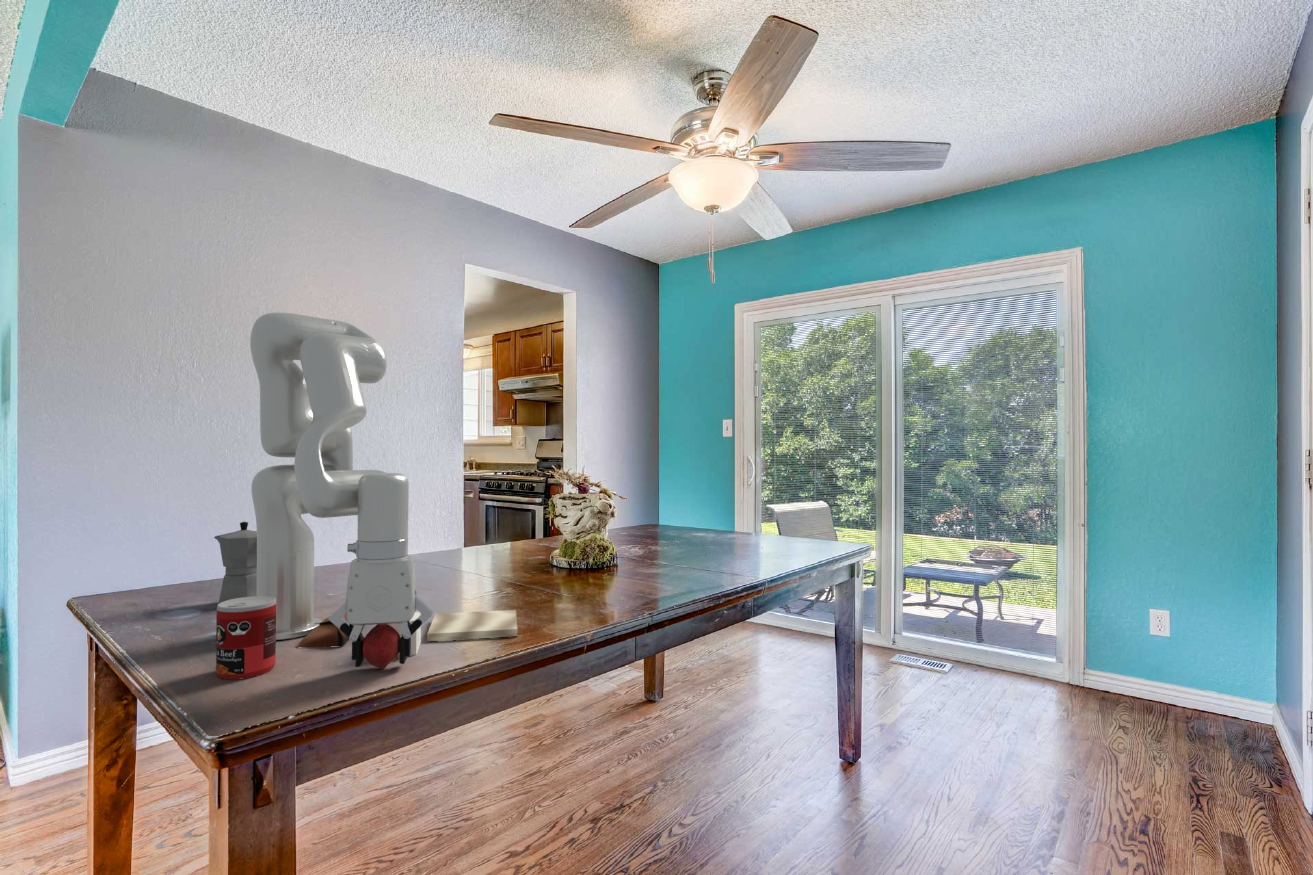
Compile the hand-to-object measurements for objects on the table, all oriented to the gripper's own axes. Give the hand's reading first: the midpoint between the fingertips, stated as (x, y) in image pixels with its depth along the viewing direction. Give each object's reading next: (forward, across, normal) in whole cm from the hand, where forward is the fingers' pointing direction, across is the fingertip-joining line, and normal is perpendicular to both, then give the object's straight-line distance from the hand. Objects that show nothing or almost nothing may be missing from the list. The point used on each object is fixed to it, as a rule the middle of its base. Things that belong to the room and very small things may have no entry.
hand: (381, 661), depth 105 cm
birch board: (+1, +14, +20) cm, 24 cm away
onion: (+1, 0, 0) cm, 1 cm away
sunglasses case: (+2, -12, +22) cm, 25 cm away
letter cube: (+1, +2, +9) cm, 9 cm away
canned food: (+1, -20, +3) cm, 21 cm away
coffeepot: (+1, -36, +50) cm, 62 cm away
